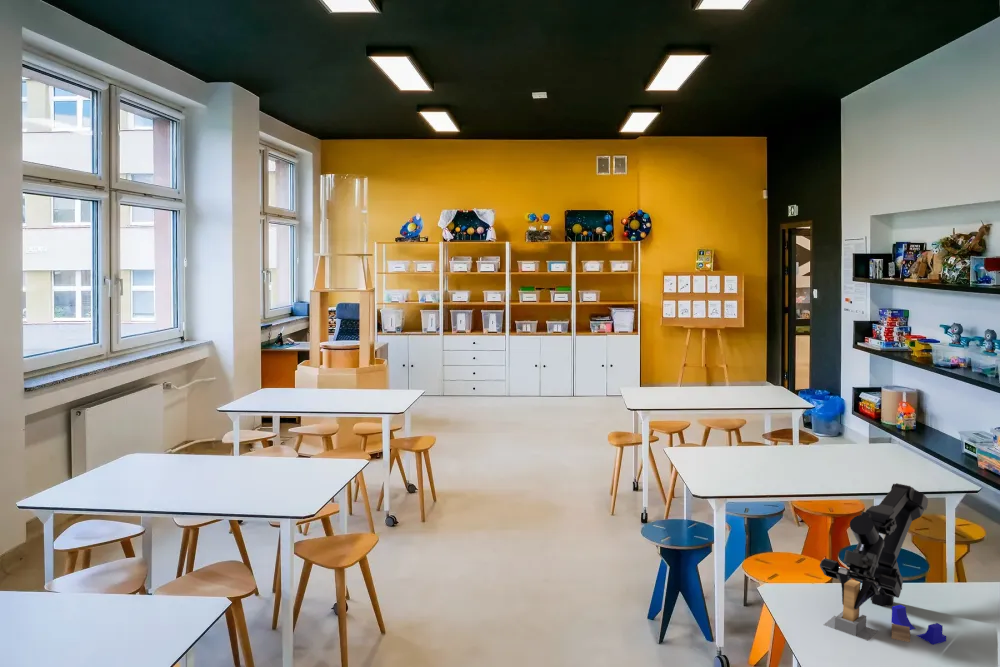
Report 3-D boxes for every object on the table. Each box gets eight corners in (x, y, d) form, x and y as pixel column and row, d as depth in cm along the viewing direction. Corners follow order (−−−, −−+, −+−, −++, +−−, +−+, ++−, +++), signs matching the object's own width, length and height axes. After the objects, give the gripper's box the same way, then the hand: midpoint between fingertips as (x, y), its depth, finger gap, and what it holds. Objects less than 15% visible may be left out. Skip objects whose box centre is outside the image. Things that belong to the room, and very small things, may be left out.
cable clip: (945, 647, 181) (947, 624, 180) (932, 651, 179) (933, 627, 179) (903, 625, 192) (904, 603, 191) (891, 628, 190) (892, 606, 190)
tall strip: (848, 623, 190) (850, 579, 189) (858, 626, 188) (860, 582, 187) (842, 628, 187) (844, 583, 186) (852, 632, 185) (854, 586, 184)
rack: (834, 621, 194) (834, 604, 193) (877, 636, 186) (878, 619, 186) (823, 630, 189) (823, 613, 189) (867, 646, 181) (868, 628, 181)
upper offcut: (891, 630, 186) (891, 623, 186) (909, 633, 184) (909, 627, 184) (891, 638, 182) (892, 632, 182) (909, 642, 180) (910, 635, 180)
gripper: (823, 528, 195) (804, 580, 188) (899, 548, 181) (880, 604, 175) (834, 549, 201) (816, 600, 194) (908, 569, 187) (891, 625, 181)
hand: (849, 606), depth 186 cm, fingers closed on tall strip, 2 cm apart
